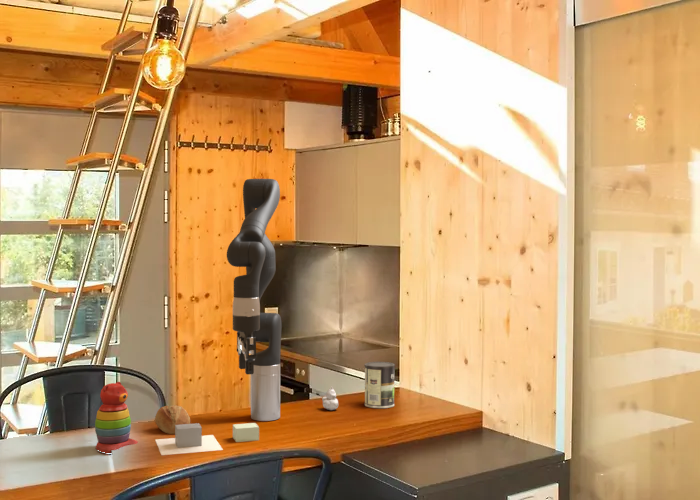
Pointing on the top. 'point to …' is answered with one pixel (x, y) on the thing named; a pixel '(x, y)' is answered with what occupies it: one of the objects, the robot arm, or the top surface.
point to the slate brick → (188, 435)
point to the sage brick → (245, 432)
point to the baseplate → (170, 447)
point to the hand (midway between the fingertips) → (246, 371)
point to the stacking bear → (113, 419)
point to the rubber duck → (330, 400)
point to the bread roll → (171, 418)
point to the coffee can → (379, 384)
